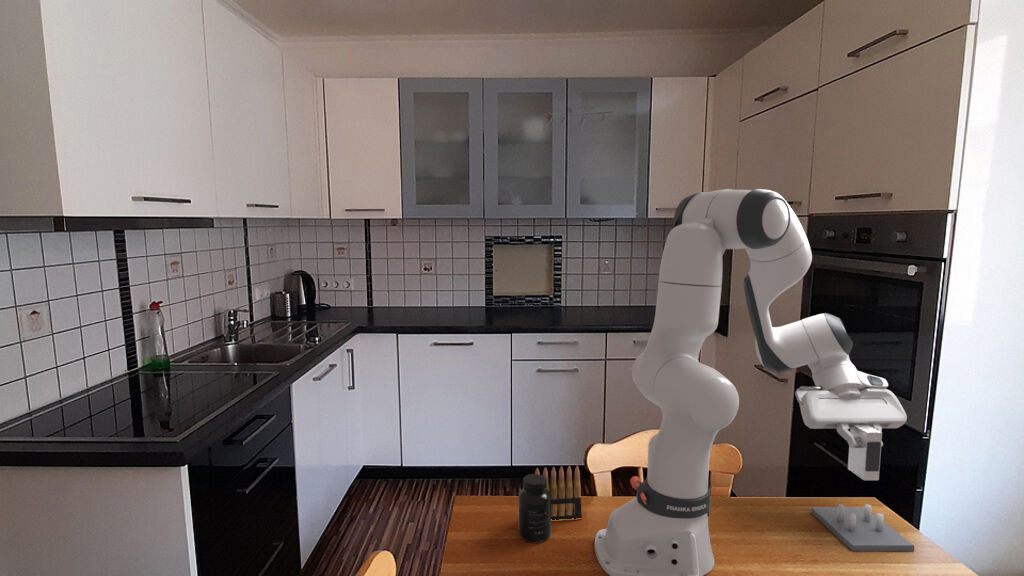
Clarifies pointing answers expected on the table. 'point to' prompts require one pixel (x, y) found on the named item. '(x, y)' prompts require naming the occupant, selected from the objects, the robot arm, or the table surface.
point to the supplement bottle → (534, 509)
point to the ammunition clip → (564, 494)
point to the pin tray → (861, 528)
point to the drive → (865, 452)
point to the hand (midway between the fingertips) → (867, 447)
